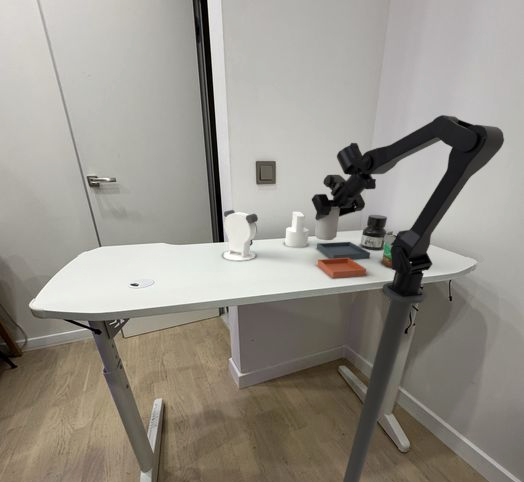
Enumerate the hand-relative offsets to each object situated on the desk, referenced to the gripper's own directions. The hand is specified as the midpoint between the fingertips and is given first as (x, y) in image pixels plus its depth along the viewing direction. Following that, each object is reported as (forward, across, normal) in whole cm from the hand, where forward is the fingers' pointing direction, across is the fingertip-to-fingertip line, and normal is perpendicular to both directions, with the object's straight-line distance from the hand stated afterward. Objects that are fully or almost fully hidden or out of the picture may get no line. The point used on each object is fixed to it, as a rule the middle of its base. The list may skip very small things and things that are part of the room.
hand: (325, 218), depth 100 cm
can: (+4, 0, +6) cm, 7 cm away
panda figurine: (+18, +27, +1) cm, 32 cm away
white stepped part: (+20, 0, -1) cm, 20 cm away
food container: (-4, -15, +23) cm, 27 cm away
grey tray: (+8, -9, +11) cm, 16 cm away
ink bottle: (+9, -25, +10) cm, 29 cm away
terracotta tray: (-1, +4, +20) cm, 21 cm away
